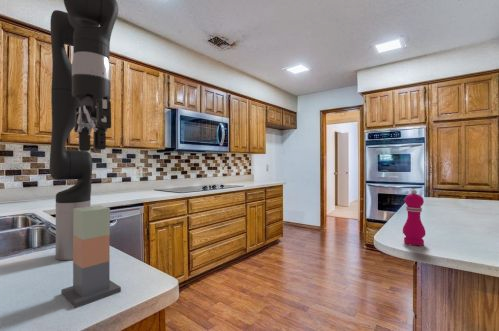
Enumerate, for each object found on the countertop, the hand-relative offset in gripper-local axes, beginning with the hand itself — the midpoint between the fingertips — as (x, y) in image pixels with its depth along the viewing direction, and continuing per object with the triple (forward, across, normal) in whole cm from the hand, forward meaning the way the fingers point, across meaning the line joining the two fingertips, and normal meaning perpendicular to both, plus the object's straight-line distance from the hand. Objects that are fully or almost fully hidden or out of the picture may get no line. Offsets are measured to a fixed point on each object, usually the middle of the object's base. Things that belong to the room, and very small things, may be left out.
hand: (91, 150), depth 60 cm
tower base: (+32, 0, 0) cm, 32 cm away
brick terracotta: (+25, 0, 0) cm, 25 cm away
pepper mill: (+32, -50, -91) cm, 109 cm away
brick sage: (+19, 0, 0) cm, 19 cm away
